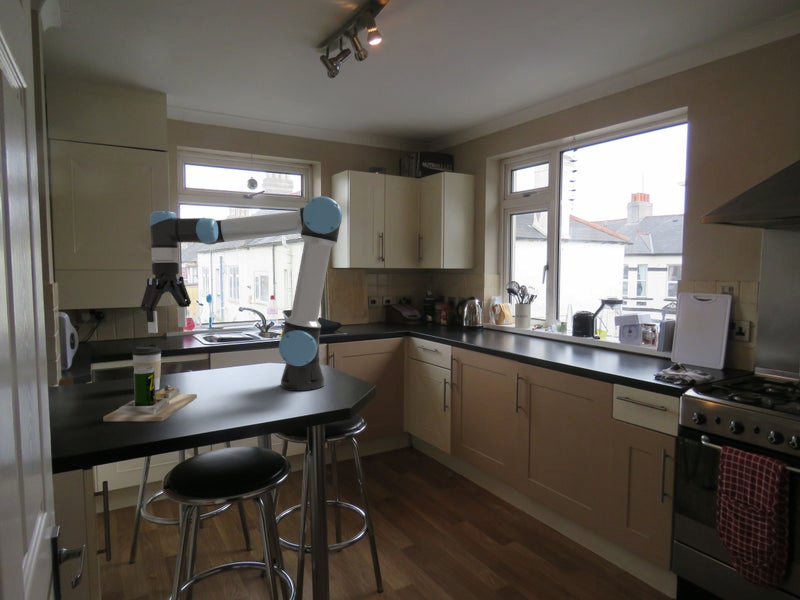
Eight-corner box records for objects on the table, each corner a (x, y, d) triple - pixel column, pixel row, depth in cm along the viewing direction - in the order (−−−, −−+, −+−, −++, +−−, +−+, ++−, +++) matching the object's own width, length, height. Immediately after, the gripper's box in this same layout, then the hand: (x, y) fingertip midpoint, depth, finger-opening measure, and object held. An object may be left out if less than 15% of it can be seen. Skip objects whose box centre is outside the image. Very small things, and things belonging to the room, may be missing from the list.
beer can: (132, 412, 142) (131, 370, 141) (137, 407, 147) (136, 366, 146) (153, 411, 143) (152, 369, 142) (157, 406, 148) (156, 365, 148)
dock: (196, 397, 162) (196, 388, 162) (162, 421, 138) (161, 409, 138) (146, 397, 162) (146, 388, 162) (103, 421, 138) (102, 409, 138)
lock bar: (175, 393, 162) (175, 383, 162) (163, 400, 154) (163, 389, 154) (168, 393, 162) (167, 383, 162) (156, 400, 154) (155, 389, 154)
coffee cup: (150, 393, 168) (149, 348, 167) (127, 391, 170) (125, 347, 168) (168, 386, 177) (167, 344, 176) (145, 385, 178) (144, 343, 177)
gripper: (180, 261, 170) (183, 324, 172) (124, 262, 146) (128, 335, 148) (200, 261, 168) (203, 324, 170) (146, 261, 144) (150, 335, 146)
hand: (168, 329), depth 159 cm, fingers open, 13 cm apart
